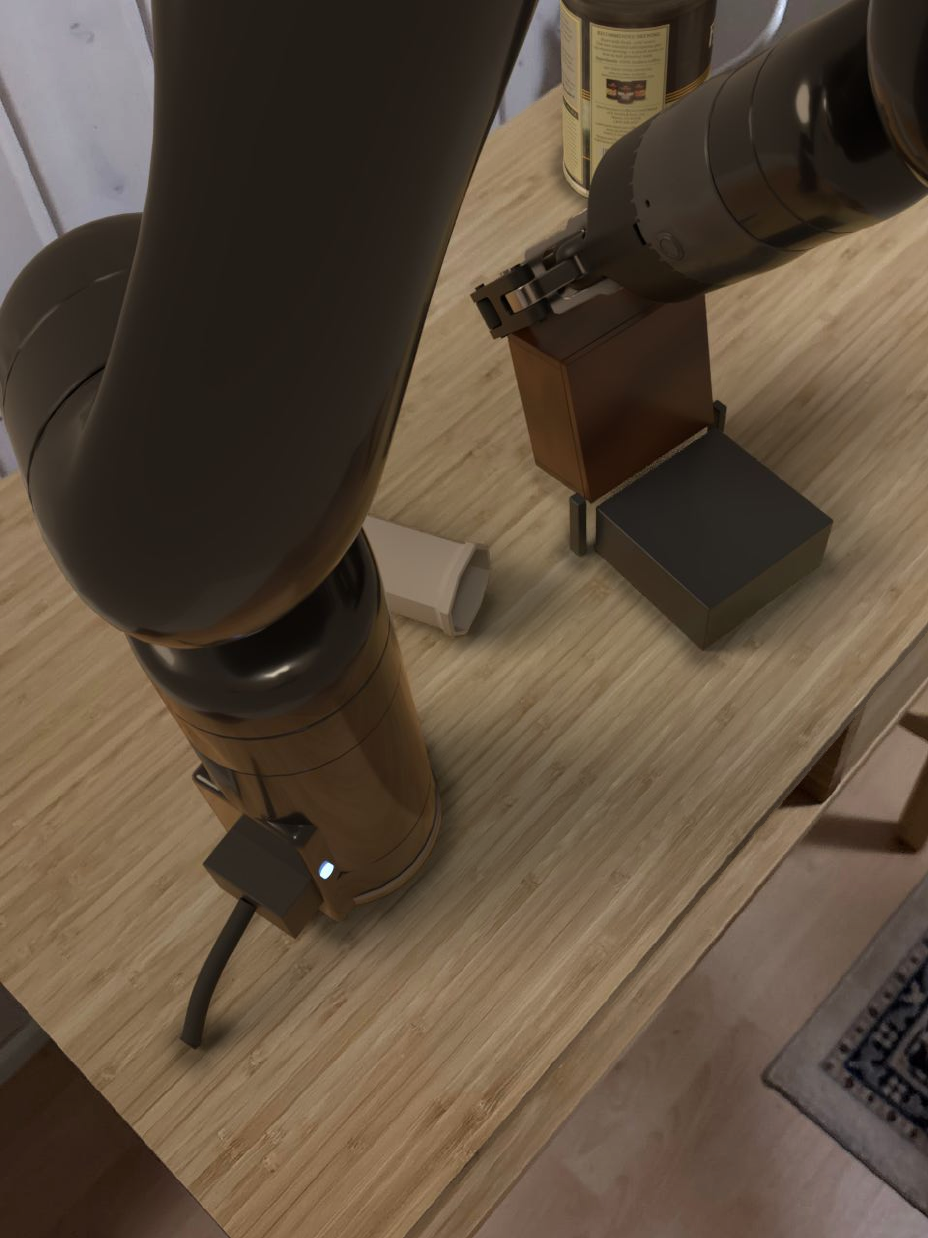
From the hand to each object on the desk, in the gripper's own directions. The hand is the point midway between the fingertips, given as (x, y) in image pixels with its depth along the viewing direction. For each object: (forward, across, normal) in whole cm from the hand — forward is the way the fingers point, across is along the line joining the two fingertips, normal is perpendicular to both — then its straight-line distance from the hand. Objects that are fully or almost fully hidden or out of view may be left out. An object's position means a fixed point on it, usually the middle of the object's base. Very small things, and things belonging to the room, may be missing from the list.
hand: (546, 275), depth 61 cm
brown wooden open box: (-4, 0, +7) cm, 8 cm away
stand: (-2, 0, +18) cm, 18 cm away
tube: (+9, +19, +6) cm, 22 cm away
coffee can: (+19, -20, -3) cm, 28 cm away
